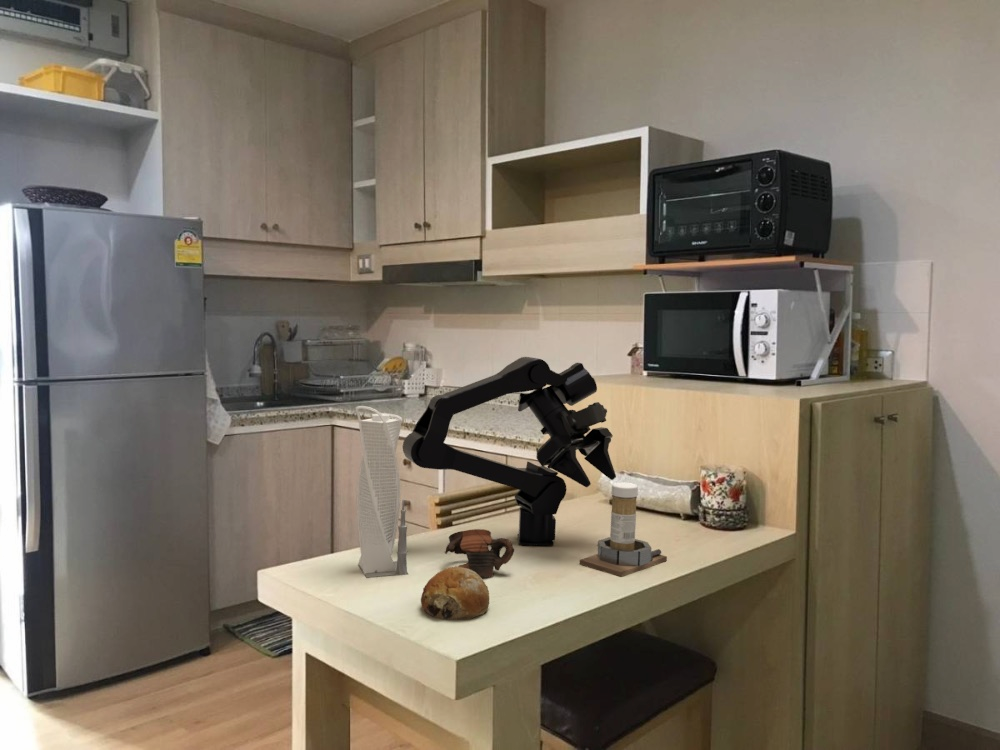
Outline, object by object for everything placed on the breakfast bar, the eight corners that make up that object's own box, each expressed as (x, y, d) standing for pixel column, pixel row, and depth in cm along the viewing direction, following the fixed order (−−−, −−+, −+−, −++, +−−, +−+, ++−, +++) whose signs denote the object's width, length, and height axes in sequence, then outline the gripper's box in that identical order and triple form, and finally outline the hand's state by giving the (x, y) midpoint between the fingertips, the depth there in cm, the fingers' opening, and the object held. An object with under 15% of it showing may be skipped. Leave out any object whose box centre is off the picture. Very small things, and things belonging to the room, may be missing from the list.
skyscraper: (357, 580, 132) (361, 408, 130) (348, 565, 139) (351, 403, 137) (408, 576, 135) (413, 408, 133) (396, 561, 143) (400, 402, 140)
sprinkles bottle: (630, 554, 148) (634, 481, 147) (637, 562, 143) (641, 487, 142) (605, 554, 147) (609, 481, 146) (612, 562, 143) (615, 486, 142)
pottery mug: (441, 582, 133) (436, 532, 137) (458, 590, 142) (453, 544, 145) (512, 569, 131) (505, 519, 135) (524, 579, 140) (518, 532, 143)
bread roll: (491, 640, 118) (512, 587, 120) (437, 622, 113) (460, 568, 114) (454, 618, 126) (474, 569, 128) (402, 601, 121) (424, 549, 122)
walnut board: (621, 576, 138) (621, 572, 138) (579, 564, 144) (579, 559, 144) (666, 560, 148) (666, 556, 148) (625, 549, 154) (625, 545, 154)
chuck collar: (630, 569, 139) (630, 554, 139) (588, 556, 146) (589, 543, 145) (666, 556, 147) (667, 543, 147) (625, 545, 154) (625, 532, 153)
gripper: (552, 391, 143) (605, 461, 137) (605, 385, 158) (654, 449, 152) (515, 430, 148) (563, 500, 143) (569, 421, 163) (615, 484, 158)
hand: (601, 482), depth 149 cm, fingers open, 9 cm apart
